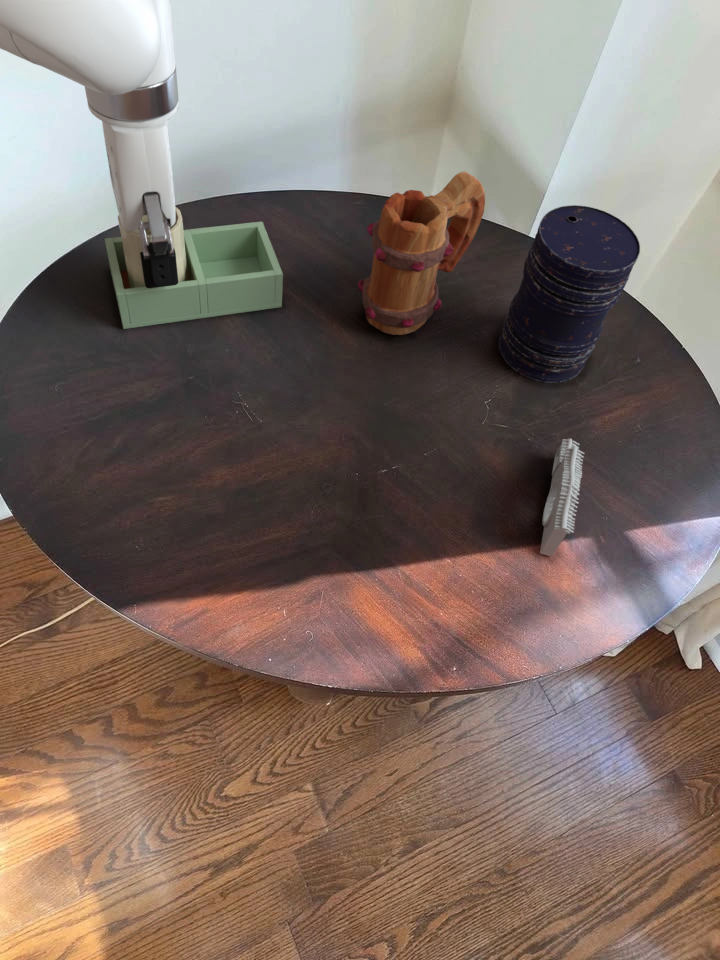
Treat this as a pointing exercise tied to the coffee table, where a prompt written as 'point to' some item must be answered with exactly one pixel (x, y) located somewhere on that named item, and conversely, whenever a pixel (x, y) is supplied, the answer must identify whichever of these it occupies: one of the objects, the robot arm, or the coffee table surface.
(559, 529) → the lattice window wall
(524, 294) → the navy cylinder
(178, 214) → the paper cup
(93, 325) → the coffee table surface
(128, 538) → the coffee table surface
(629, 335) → the coffee table surface
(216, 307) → the cup holder
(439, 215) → the mug
